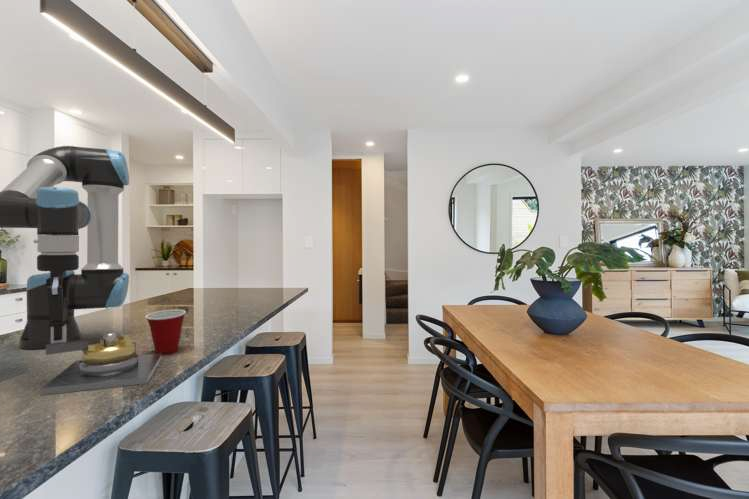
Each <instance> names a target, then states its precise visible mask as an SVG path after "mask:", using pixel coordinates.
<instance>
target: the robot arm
mask: <svg viewBox="0 0 749 499" xmlns="http://www.w3.org/2000/svg"><path fill="white" fill-rule="evenodd" d="M129 172H130V171H129V168H128V163H127V159H126V157H125V155H124V154H123V152H121V151H119V150H113V149H108V148H98V147H97V148H95V147H85V146H83V147H82V146H74V145H62V146H56V147H52V148H49V149H46V150H43V151H41V152H38V153H37V154H35V155H33V156H32V157H31V158H30V159H29V160H28V161H27V163H26V168H25V169H24V170H23V171H22V172H21V173H20V174H18V175H17V176H16V177H15V178H14V179H13V180H12V181H11V182H10V183H9V184H7V185H6V186H5V187H4V188H3V189H1V190H0V228H1V229H4V228H5V229H7V228H8V229H11V228H13V229H36V235H37V237H36V239H34V240H33V243H34V244H37V245H36V246H37V247H36V248H37V250H36V251H37V252H38V253H40V254H38V255H37V256H36V269H37V270H38V271H39V272H44V273H38V274H32V275H31V276H29V277H28V279H27V280H26V289H25V291H26V323H25V326H24V329H23V331H22V332H21V336H20V338H19V341H18V342H19V343H18V344H19V348H20V349H23V350H24V349H25V350H39V349H46V344H52V343H61V342H69V341H77V340H82V333H81V332H82V331H81V330H80V327H79V325H78V322H77V320H76V317H75V310H87V309H89V310H90V309H91V310H92V309H93V310H94V309H108V308H117V307H121V306H122V305H123V304H124V303H125V301H126V298H127V294H128V291H129V285H130V284H129V283H130V282H129V281H130V280H129V279H130V275H129V273H128V272H124V267H123V266H122V265H121V264H119V195H120V194H122V193H123V192H124V190H125V186H129V185H130V173H129ZM63 182H73V183H74V182H75V183H81V188H82V189H83V190H84V191H85V192H86V193H87V204H85V203H84V202H82V201H80V199H79V192H78V191H77V190H75V189H73V188H67V187H57V185H59V184H60V185H61V183H63ZM55 186H56V187H55ZM85 227H86V229H87V230H86V231H87V233H86V235H87V236H86V237H87V240H86V244H87V245H86V246H87V247H86V248H87V249H86V251H87V252H86V256H87V258H86V260H87V261H86V264H85V265H84V266H83V267H82V268H81V271H80V274H78V273H77V274H76V273H75V271H77V270H79V267H80V265H79V264H80V263H79V262H80V256H79V255H78V254H77V253H78V252H80V235H79V234H80V233H79V230H80V229H83V228H85ZM64 353H67V352H63V353H62V354H64ZM56 354H58V353H56Z"/></svg>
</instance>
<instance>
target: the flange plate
mask: <svg viewBox="0 0 749 499" xmlns="http://www.w3.org/2000/svg"><path fill="white" fill-rule="evenodd" d="M162 359H163V354H162V353H160V354H156V353H152V354H151V353H150V354H141V355H140V354H139V353H137V352H136V355H135V356H134V357H132V358H130V359H127V360H123V361H119V362H114V363H108V364H85V363H83V362H82V359H80V360H76V361H74V362H73V363H72V364H70V365H69V366H68V367H67V368H65V369H64V370H63V371H61V372H60V373H59V374H58V375H56V376H55V377H53V379H51V380H50V381H49V382H47V383H46V384H45V385H43V387H41V388H40V390H41V392H40V395H41V396H46V395H55V394H64V393H74V392H83V391H90V390H92V391H93V390H100V389H107V388H108V389H110V388H117V387H118V388H119V387H128V386H129V387H130V386H136V385H137V386H138V385H145V384H149V382H150V381H149V380H151V379H152V377H153V375H154V374H155V371H156V370H157V368H158V367H159V364H160V363H161V361H162Z"/></svg>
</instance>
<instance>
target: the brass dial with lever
mask: <svg viewBox="0 0 749 499" xmlns="http://www.w3.org/2000/svg"><path fill="white" fill-rule="evenodd" d="M76 351H81V360H82V362H83V363H85V364H108V363H114V362H119V361H123V360H127V359H130V358H132V357H134V356H135V355H136V353H137V341H136V340H134V339H133V340H132V339H130V334H121V335H117V332H114V331H113V332H112V331H111V332H106V333H103V341H102V338H100V337H93V338H87V339H81V340H77V341H69V342H61V343H52V344H46V348H45V355H46V356H47V355H55V354H56V353H57V354H64V353H63V352H66V353H69V352H70V353H71V352H76Z"/></svg>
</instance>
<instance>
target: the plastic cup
mask: <svg viewBox="0 0 749 499" xmlns="http://www.w3.org/2000/svg"><path fill="white" fill-rule="evenodd" d="M186 314H187V311H186V310H184V309H176V308H175V309H164V310H163V309H162V310H157V311H154V312H151V313H148V314H146V315H145V316H144V317H145V319H146V320H147V322H148V325H149V327H150V328H149V329H150V333H151V338H152V343H153V348H154V351H155V354H160V353H162V355H168V354H173V353H176V352H177V351H178V349H179V345H180V344H179V342H180V340H181V334H182V329H183V328H182V327H183V322H184V317H185V315H186Z"/></svg>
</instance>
